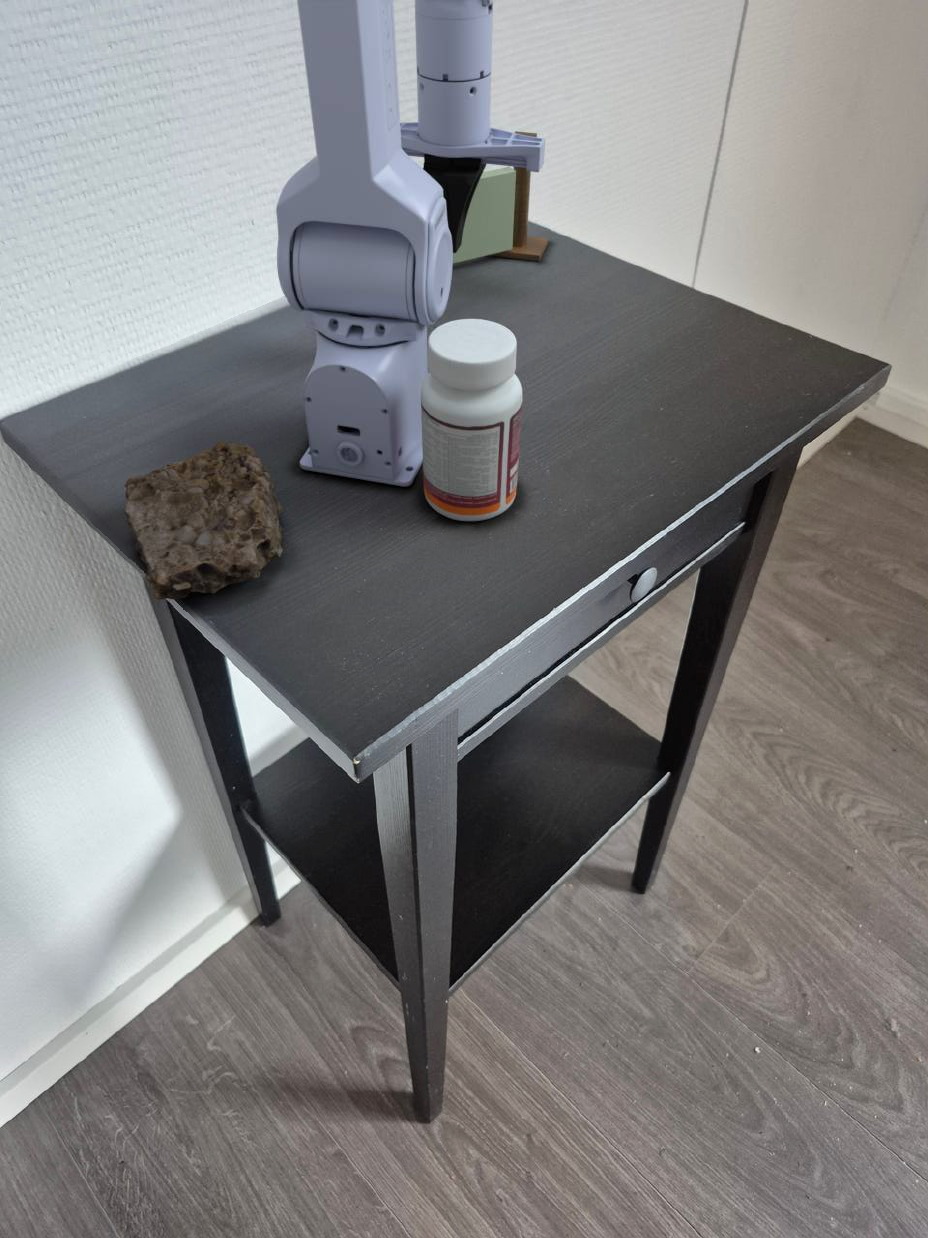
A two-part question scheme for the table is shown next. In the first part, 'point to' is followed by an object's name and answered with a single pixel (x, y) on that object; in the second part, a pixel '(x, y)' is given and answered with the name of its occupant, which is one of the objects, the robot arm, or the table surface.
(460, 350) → the pill bottle
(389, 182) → the robot arm
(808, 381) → the table surface
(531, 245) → the wooden stand
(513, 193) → the door
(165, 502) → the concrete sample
